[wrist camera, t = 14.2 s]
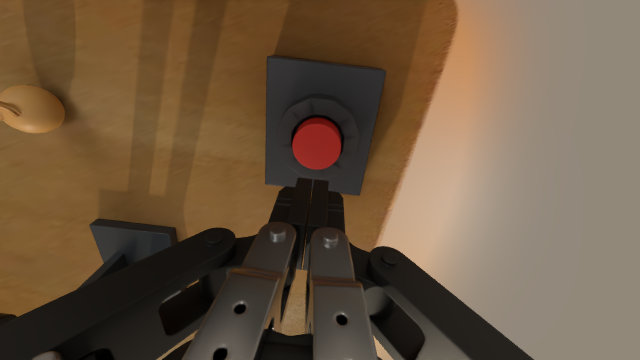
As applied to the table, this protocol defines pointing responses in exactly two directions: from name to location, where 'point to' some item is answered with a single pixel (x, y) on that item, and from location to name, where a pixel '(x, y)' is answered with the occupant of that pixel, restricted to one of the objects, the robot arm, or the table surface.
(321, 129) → the button
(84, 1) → the table surface
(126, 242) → the bracket
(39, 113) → the figurine
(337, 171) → the button block
